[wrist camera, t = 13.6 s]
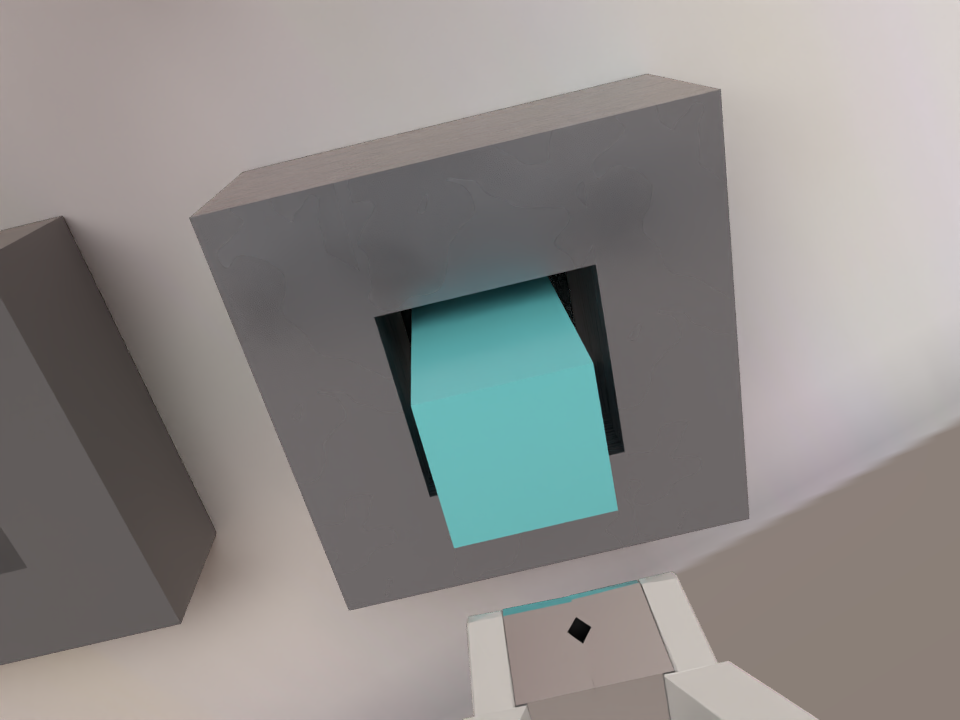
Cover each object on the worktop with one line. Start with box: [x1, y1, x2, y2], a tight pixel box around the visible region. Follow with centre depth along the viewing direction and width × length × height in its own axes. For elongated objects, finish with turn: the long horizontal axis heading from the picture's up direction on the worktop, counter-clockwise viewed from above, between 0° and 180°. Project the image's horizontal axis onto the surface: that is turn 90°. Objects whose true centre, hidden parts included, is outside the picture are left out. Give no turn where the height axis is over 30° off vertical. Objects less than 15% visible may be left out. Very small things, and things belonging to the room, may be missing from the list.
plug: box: [411, 276, 618, 548], centre depth 18 cm, size 4×4×8 cm
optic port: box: [190, 74, 749, 610], centre depth 19 cm, size 11×11×5 cm
